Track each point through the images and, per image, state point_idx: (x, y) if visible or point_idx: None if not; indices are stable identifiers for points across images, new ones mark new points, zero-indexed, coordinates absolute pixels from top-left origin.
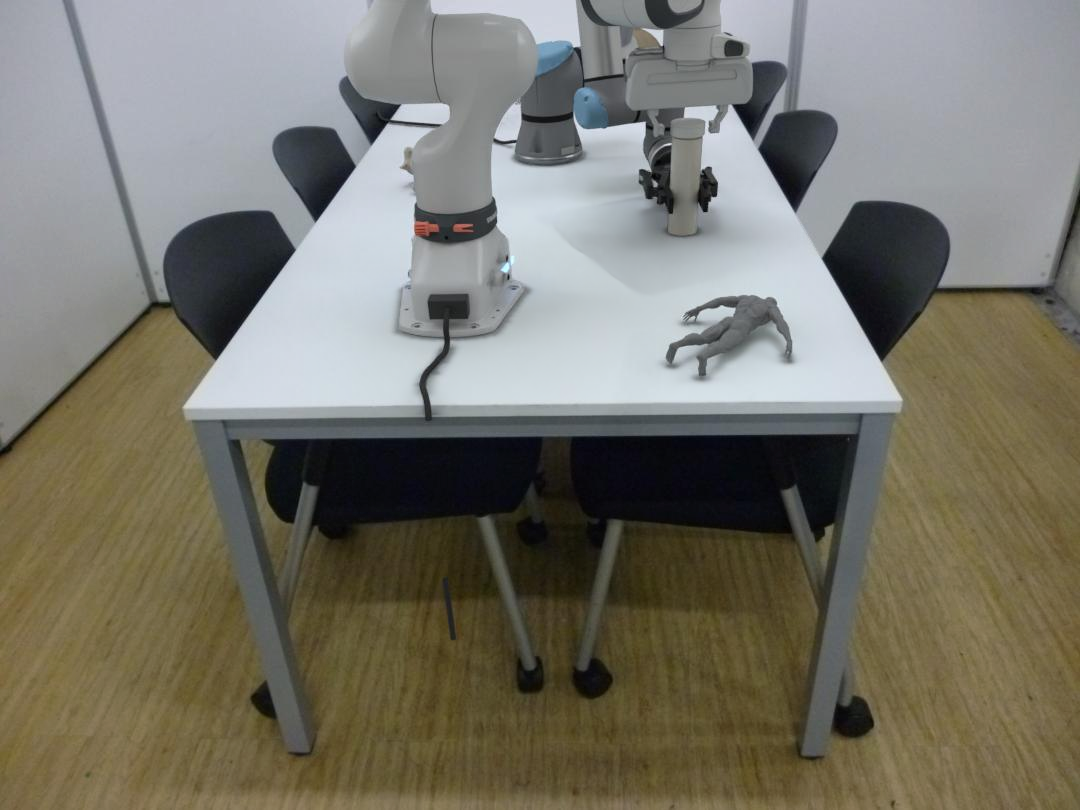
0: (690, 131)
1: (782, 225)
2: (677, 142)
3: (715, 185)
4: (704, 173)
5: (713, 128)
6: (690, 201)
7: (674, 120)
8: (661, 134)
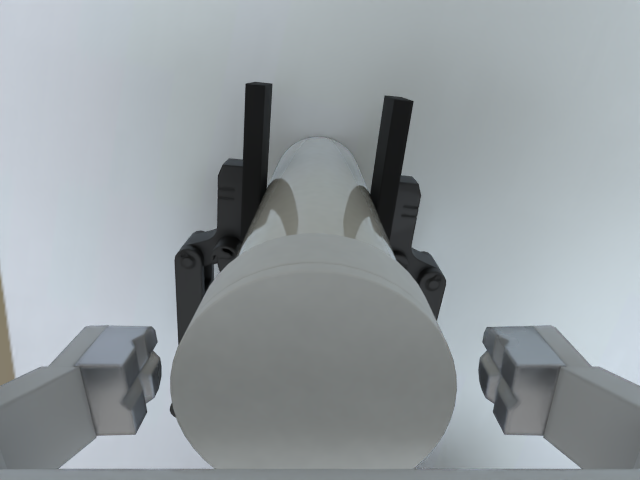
0: (328, 250)
1: (17, 164)
2: None
3: (188, 247)
4: None
5: (121, 338)
6: (305, 156)
7: (406, 457)
8: (515, 328)
